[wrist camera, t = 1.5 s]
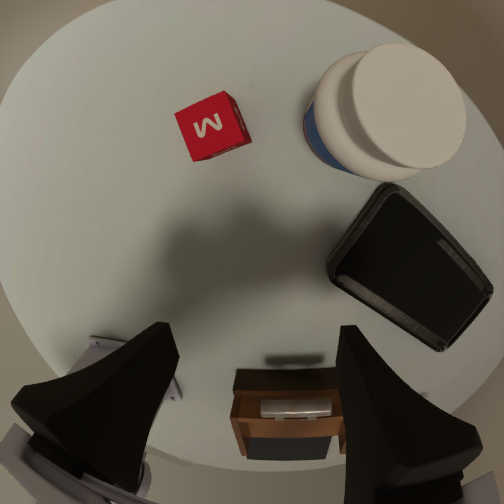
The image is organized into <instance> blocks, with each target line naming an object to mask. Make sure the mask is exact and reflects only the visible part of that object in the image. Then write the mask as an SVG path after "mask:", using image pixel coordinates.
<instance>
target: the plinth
mask: <svg viewBox="0 0 504 504" xmlns="http://www.w3.org/2000/svg"><path fill="white" fill-rule="evenodd" d="M324 389H338V385H337V375H336V368H326V369H307V370H237V373H236V377H235V381H234V385H233V394H234V396H235V392H236V390H248V391H305V390H324Z"/></svg>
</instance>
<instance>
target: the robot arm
mask: <svg viewBox="0 0 504 504" xmlns="http://www.w3.org/2000/svg"><path fill="white" fill-rule="evenodd" d="M88 342H89V344H90V347H89V348H88V349H87V350H86V351H85V353H84V354H83V355H82V356H81V357H80V359H79V360H78V361H77V362H76V363H75V365H74V366H73V367H72V368H71V370H70V371H69V372H68V373H67V375H66V376H64V377H61V378H57V379H54V380H51V381H47V382H43V383H38V384H32V385H26V386H24V387H22V389H21V390H20V391H19V392H18V393H17V395H16V396H15V397H14V398H13V400H12V401H11V406H12V407H13V409H14V410H15V412H16V413H17V414H18V415H19V416H20V418H21V419H22V420H23V421H24V422H25V423H26V424H27V425H28V426H29V427H30V429H31V430H32V431H34V434H33V436H31V435H30V434H29V433H27V432H26V431H25V430H24V429H22V428H21V427H20V426H19V425H17V424H16V423H14V424H13V425H12V427H11V428H10V430H9V431H8V432H7V434H6V435H5V437H4V438H3V440H2V441H1V442H0V463H1V465H2V466H3V467H4V468H5V469H6V470H7V471H8V472H9V473H10V474H11V475H12V476H13V477H14V479H15V480H16V481H17V482H18V483H19V484H20V485H21V486H22V487H23V488H24V489H25V490H26V491H27V492H28V493H29V494H30V495H31V496H32V497H33V498H34V499H33V500H32V502H31V504H158V503H155V502H152V501H149V500H146V499H145V497H146V495H147V493H148V491H149V488H150V485H151V478H152V477H151V471H150V467H149V464H148V463H147V462H146V461H144V459H145V457H146V454H147V452H145V451H144V450H145V446H146V442H147V439H148V435H149V432H150V429H151V427H152V425H153V423H154V420H155V418H156V416H157V414H158V412H159V409H160V407H161V405H162V403H163V401H164V399H167V400H173V401H181V400H182V396H181V394H180V392H179V389H178V387H177V385H176V382H175V380H174V377H173V376H174V374H175V371H176V368H177V364H178V361H179V357H180V356H179V353H178V350H177V347H176V344H175V341H174V338H173V334H172V331H171V328H170V324H169V323H166V322H156V323H154V324H153V325H151V326H150V327H148V328H147V329H145V330H144V331H142V332H141V333H140V334H138V335H137V336H135V337H134V338H133V339H131V340H130V341H128V342H121V341H114V340H108V339H102V338H96V337H89V338H88ZM336 375H337V385H338V391H339V396H340V402H341V408H342V414H343V420H344V426H345V435H346V482H345V496H344V504H501V502H500V497H499V493H498V488H497V484H496V480H495V476H494V473H493V471H490V472H489V473H487V474H485V475H483V476H481V477H479V478H477V479H475V480H473V481H471V482H469V483H467V484H465V485H463V486H462V487H461V483H460V481H461V480H462V479H463V477H464V476H463V472H462V470H463V469H464V468H465V467H467V466H468V465H469V464H470V463H471V462H472V461H474V460H475V459H476V458H477V457H478V456H479V455H480V453H481V451H482V449H483V445H482V442H481V439H480V437H479V434H478V432H477V430H476V427H475V426H473V425H471V424H469V423H467V422H465V421H462V420H460V419H458V418H456V417H453V416H452V415H450V414H448V413H447V412H445V411H443V410H441V409H440V408H438V407H437V406H435V405H433V404H432V403H431V402H429V401H428V400H426V399H425V398H424V397H422V396H421V395H419V394H418V393H417V392H416V391H414V390H413V389H412V388H411V387H410V386H408V385H407V384H406V383H405V382H404V381H403V380H402V379H401V378H400V377H399V376H398V375H397V374H396V373H395V372H394V371H393V370H392V369H391V368H390V367H389V366H388V365H387V364H386V362H385V361H384V360H383V359H382V358H381V357H380V355H379V354H378V353H377V352H376V351H375V349H374V348H373V347H372V346H371V344H370V343H369V342H368V340H367V339H366V338H365V336H364V335H363V334H362V332H361V331H360V330H359V328H358V327H357V326H356V325H346V326H341V328H340V336H339V343H338V350H337V356H336Z"/></svg>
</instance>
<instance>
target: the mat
mask: <svg viewBox="0 0 504 504" xmlns="http://www.w3.org/2000/svg"><path fill="white" fill-rule="evenodd" d="M331 437H332V436H323V437H304V438H263V437H251V439H250V445H249V451H248V456H247V459H252V460H279V461H292V460H318V459H325V458H326V455H327V451H328V448H329V444H330V441H331Z"/></svg>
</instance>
